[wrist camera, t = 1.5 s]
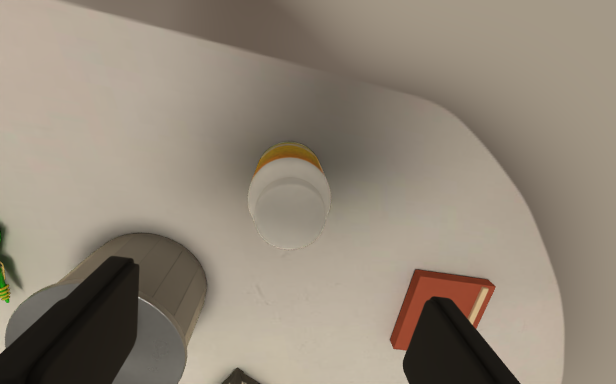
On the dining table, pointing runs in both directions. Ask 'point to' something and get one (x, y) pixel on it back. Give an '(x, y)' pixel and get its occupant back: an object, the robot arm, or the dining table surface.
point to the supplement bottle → (289, 196)
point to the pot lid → (149, 343)
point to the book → (426, 284)
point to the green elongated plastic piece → (3, 284)
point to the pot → (157, 274)
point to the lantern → (239, 378)
